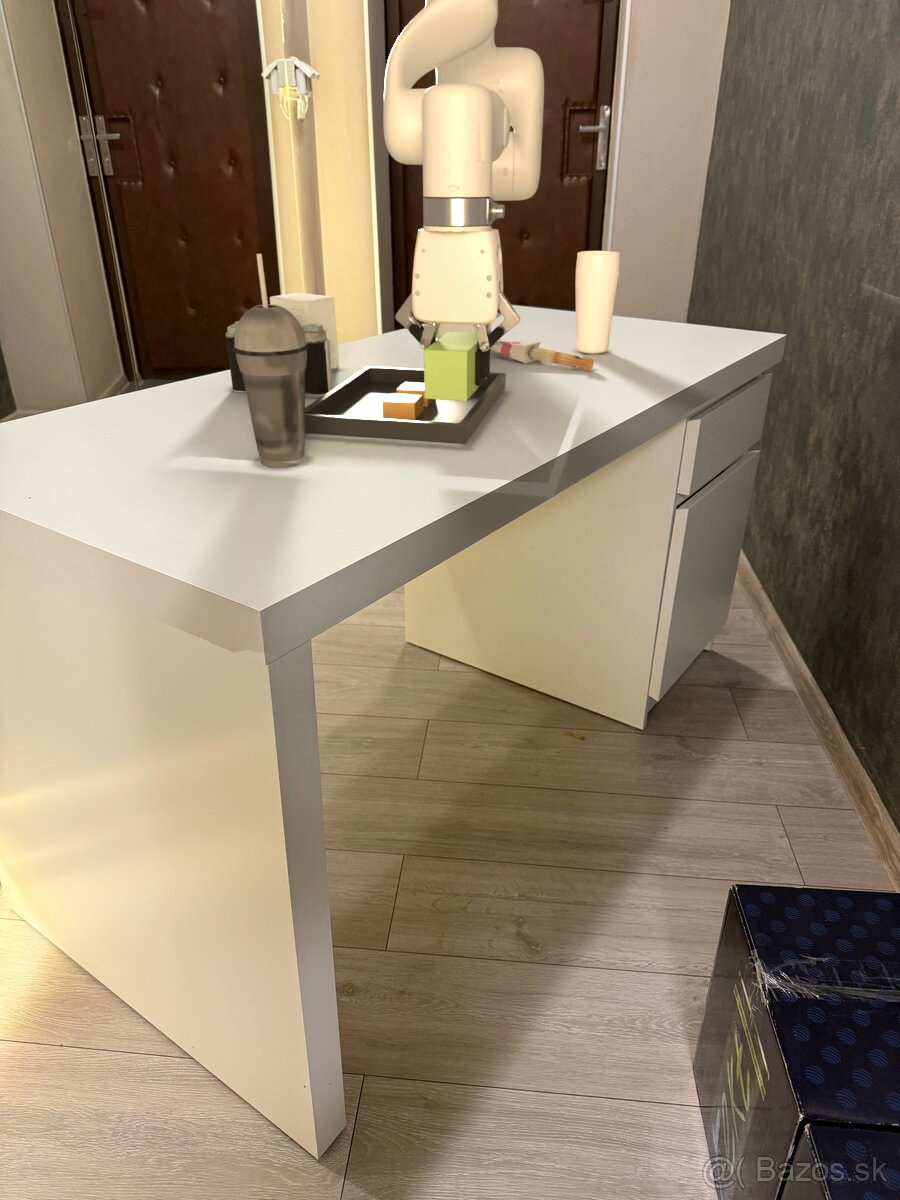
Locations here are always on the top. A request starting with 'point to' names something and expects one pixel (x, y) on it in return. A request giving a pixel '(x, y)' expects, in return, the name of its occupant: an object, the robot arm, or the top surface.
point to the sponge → (451, 367)
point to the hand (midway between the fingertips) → (457, 380)
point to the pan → (361, 416)
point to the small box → (313, 315)
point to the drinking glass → (595, 299)
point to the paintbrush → (540, 354)
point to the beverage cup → (273, 378)
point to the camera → (316, 368)
